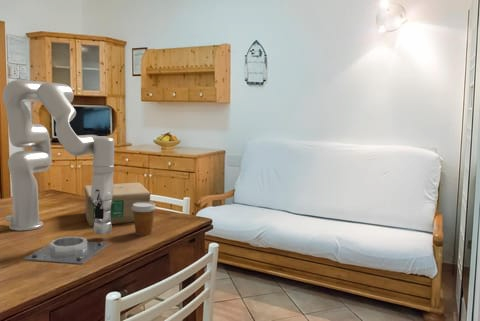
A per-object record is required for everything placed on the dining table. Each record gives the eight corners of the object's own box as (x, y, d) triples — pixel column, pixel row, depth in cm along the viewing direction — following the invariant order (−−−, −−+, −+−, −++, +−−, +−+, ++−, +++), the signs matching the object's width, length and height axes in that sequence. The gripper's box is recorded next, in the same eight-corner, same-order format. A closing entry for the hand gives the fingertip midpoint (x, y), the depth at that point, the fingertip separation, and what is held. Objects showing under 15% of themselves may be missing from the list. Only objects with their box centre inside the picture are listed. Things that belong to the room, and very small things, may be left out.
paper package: (88, 227, 178) (88, 194, 177) (83, 212, 202) (83, 184, 200) (152, 221, 189) (152, 191, 188) (140, 208, 213) (140, 181, 211)
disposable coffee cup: (131, 237, 166) (131, 207, 164) (132, 230, 175) (132, 201, 174) (155, 236, 168) (155, 206, 166) (155, 229, 177) (155, 201, 175)
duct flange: (24, 259, 139) (24, 249, 138) (57, 241, 159) (56, 231, 158) (82, 263, 137) (82, 253, 136) (108, 244, 156) (108, 235, 156)
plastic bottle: (93, 231, 165) (93, 181, 162) (111, 230, 167) (112, 181, 164) (93, 236, 159) (94, 184, 156) (112, 235, 161) (113, 184, 158)
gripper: (103, 165, 168) (103, 210, 171) (83, 172, 151) (82, 221, 154) (121, 167, 168) (121, 211, 170) (103, 174, 151) (102, 223, 153)
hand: (102, 215), depth 162 cm, fingers closed on plastic bottle, 5 cm apart
